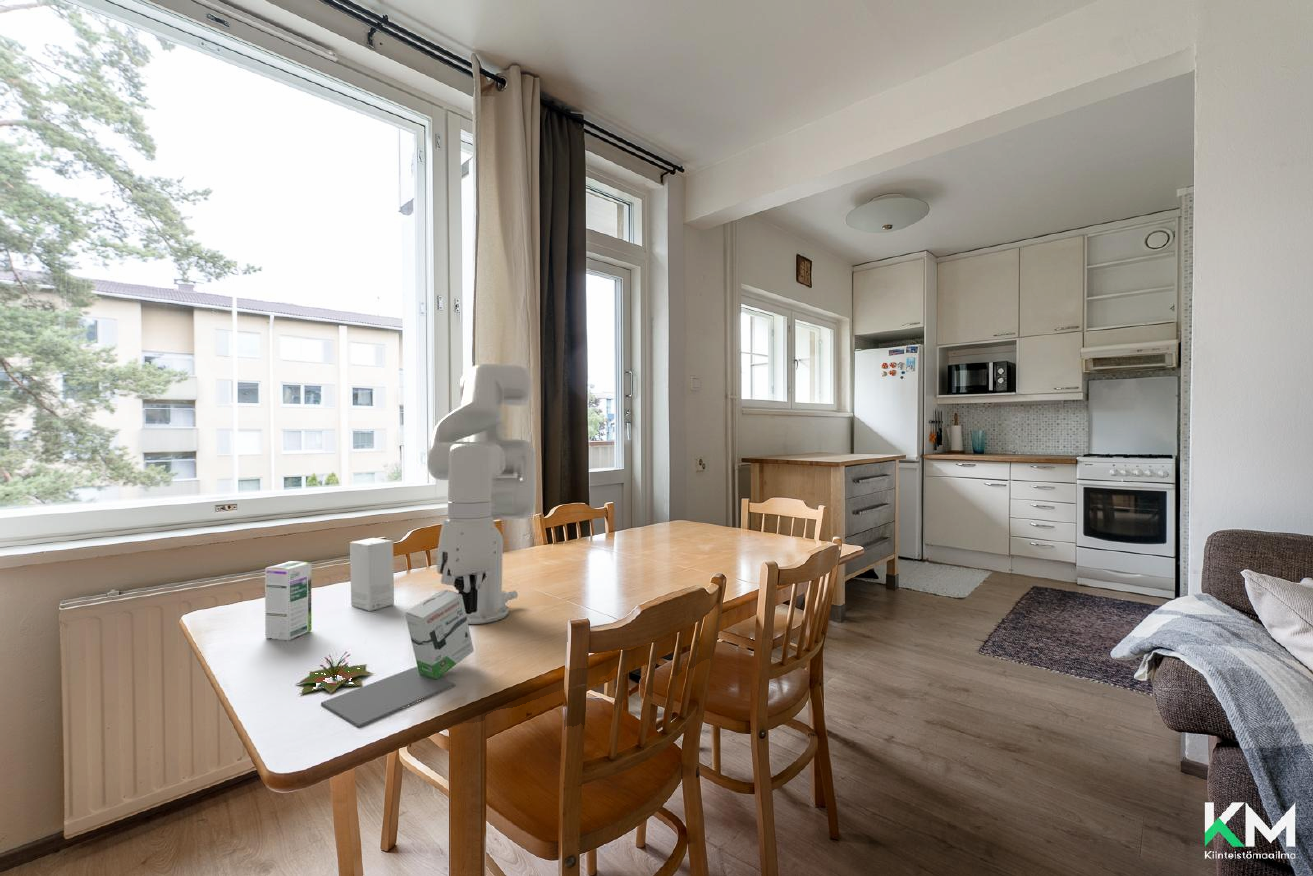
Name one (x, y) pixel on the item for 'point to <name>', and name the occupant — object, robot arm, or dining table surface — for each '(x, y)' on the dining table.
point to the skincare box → (372, 573)
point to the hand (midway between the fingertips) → (467, 611)
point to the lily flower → (331, 673)
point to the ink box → (439, 633)
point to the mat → (385, 696)
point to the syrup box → (288, 600)
